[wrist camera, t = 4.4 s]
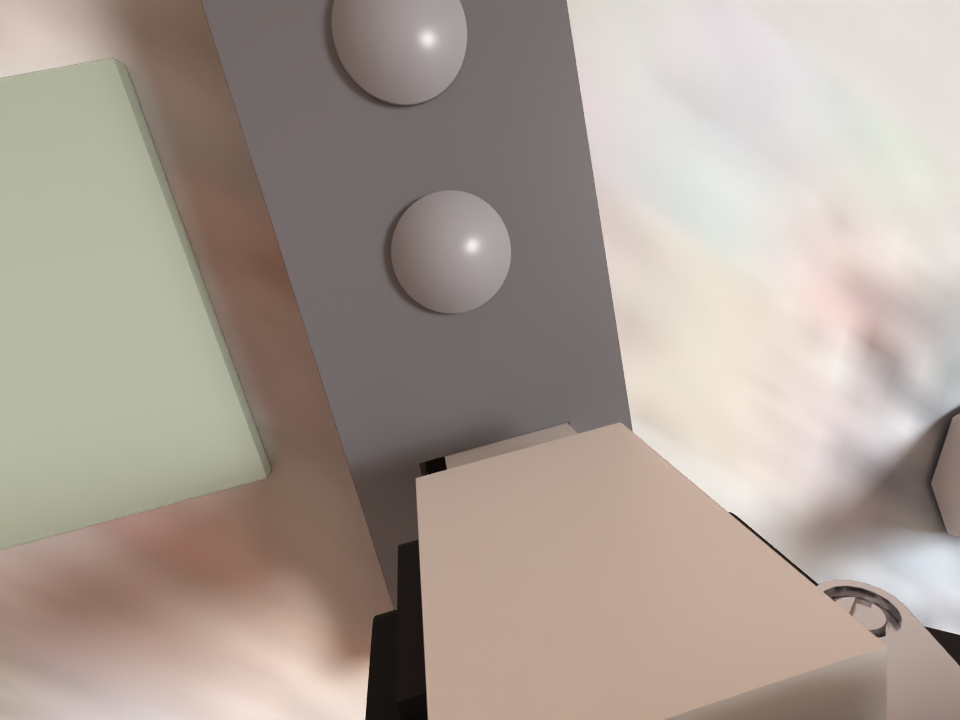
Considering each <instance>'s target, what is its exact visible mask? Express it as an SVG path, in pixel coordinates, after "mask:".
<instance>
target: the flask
mask: <svg viewBox="0 0 960 720" xmlns="http://www.w3.org/2000/svg"><path fill="white" fill-rule="evenodd" d="M931 485H932V488H933V491H934V494H935V497H936V500H937V503H938V506H939V509H940V512H941V515H942V518H943V521H944V524H945V527H946V530H947V533H948V535H953V536H957V537H960V413H959V414H958V415H956V416H954V417H953V418H952V421H951V424H950V427H949V430H948V433H947V436H946V439H945V442H944V445H943V448H942V452H941V455H940V458H939V461H938V464H937V467H936V470H935V473H934V476H933V479H932V482H931Z"/></svg>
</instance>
